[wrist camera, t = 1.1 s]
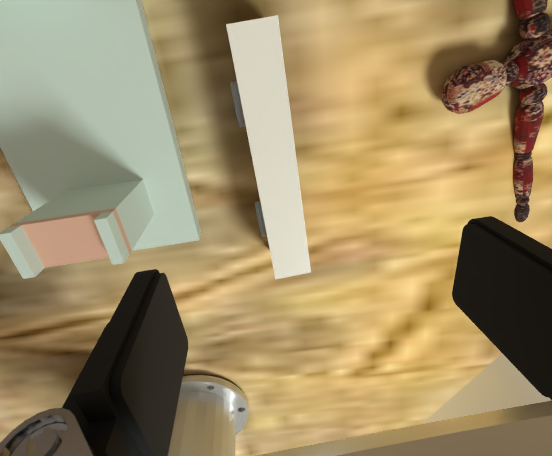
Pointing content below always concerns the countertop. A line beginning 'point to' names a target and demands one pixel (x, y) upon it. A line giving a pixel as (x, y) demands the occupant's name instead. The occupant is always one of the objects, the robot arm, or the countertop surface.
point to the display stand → (88, 134)
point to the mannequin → (520, 74)
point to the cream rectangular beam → (270, 140)
